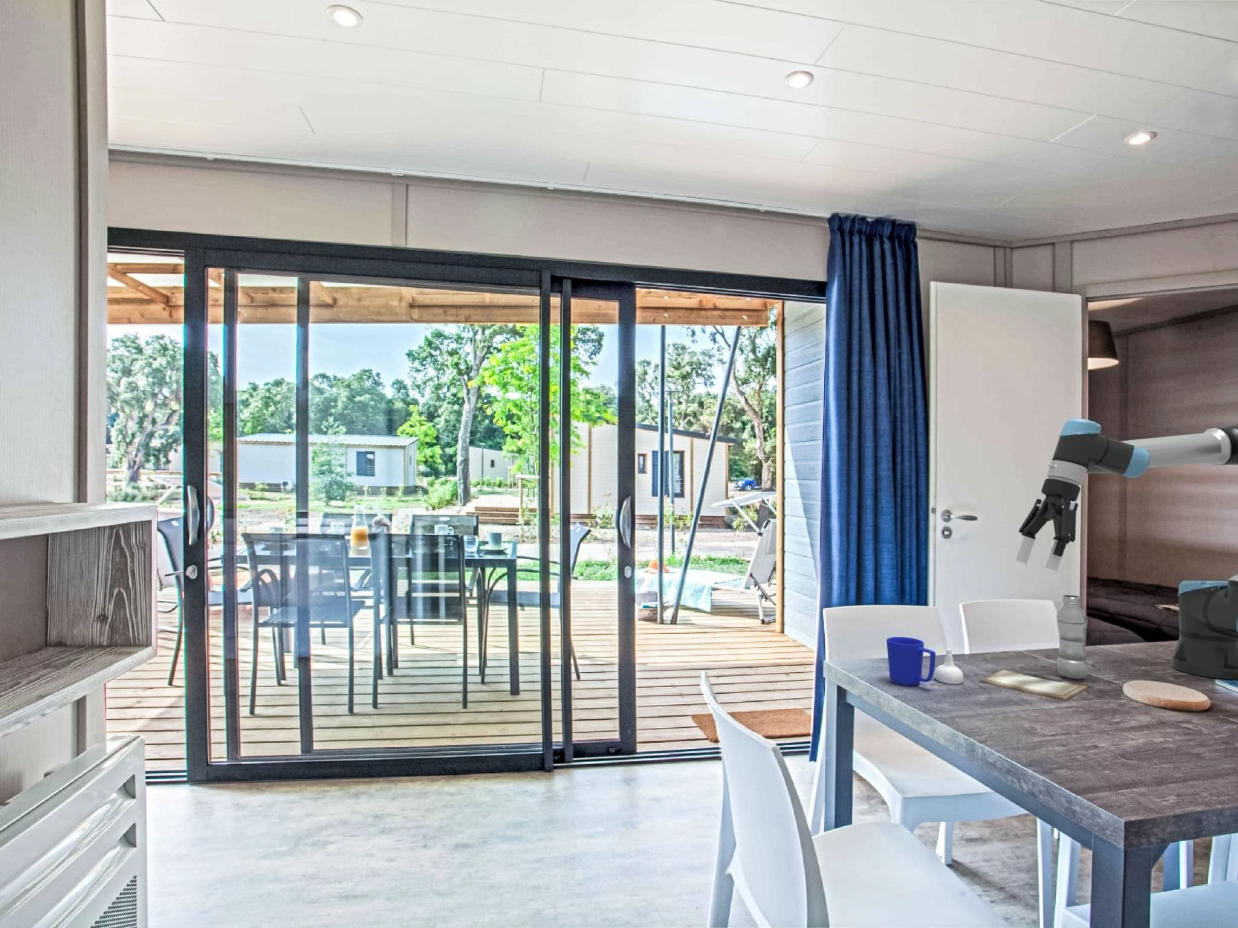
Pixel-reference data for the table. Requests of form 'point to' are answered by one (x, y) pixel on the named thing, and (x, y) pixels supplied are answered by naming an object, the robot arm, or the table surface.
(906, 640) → the mug
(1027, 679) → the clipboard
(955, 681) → the garlic bulb
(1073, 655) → the plastic bottle
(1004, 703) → the table surface
